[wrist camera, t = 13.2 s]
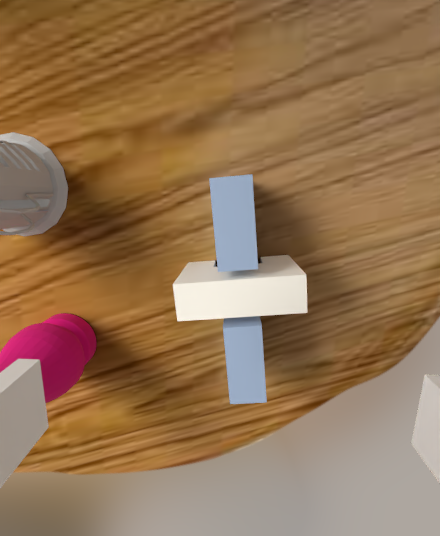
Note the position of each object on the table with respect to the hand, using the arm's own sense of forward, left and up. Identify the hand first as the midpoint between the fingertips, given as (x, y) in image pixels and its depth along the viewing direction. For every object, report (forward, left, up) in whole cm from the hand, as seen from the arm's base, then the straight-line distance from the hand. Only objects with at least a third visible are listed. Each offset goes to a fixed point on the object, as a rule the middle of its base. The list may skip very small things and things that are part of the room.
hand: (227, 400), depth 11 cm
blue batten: (+1, +1, -21) cm, 21 cm away
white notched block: (+1, +1, -21) cm, 21 cm away
